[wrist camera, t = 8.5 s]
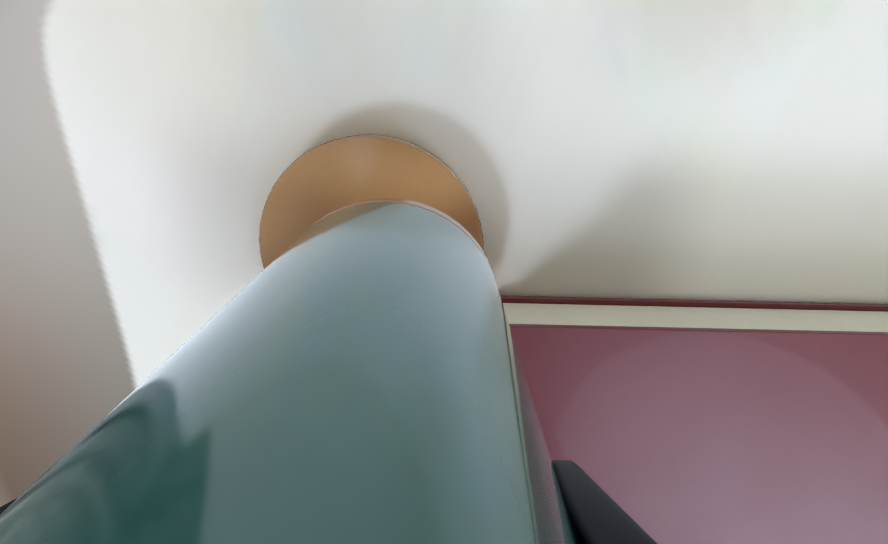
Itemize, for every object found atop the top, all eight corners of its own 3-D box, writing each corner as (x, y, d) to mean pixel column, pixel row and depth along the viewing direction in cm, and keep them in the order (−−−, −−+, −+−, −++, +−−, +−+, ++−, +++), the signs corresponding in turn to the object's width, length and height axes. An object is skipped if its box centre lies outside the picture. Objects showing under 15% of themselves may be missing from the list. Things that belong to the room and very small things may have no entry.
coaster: (513, 299, 20) (515, 305, 20) (328, 372, 21) (326, 379, 21) (428, 95, 17) (428, 94, 17) (221, 191, 19) (214, 194, 18)
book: (860, 559, 25) (912, 616, 23) (474, 553, 25) (478, 610, 22) (971, 306, 20) (1057, 338, 18) (491, 295, 20) (499, 326, 17)
